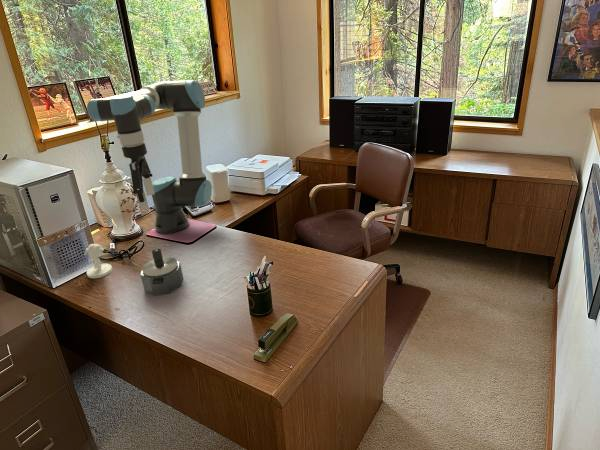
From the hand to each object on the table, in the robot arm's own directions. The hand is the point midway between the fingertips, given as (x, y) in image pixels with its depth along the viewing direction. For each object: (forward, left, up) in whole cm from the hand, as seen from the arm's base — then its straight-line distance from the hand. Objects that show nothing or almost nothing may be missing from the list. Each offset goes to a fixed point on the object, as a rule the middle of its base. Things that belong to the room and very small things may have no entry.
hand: (147, 202), depth 153 cm
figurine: (-4, -25, -28) cm, 38 cm away
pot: (+12, +2, -28) cm, 30 cm away
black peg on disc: (+12, +2, -21) cm, 24 cm away
